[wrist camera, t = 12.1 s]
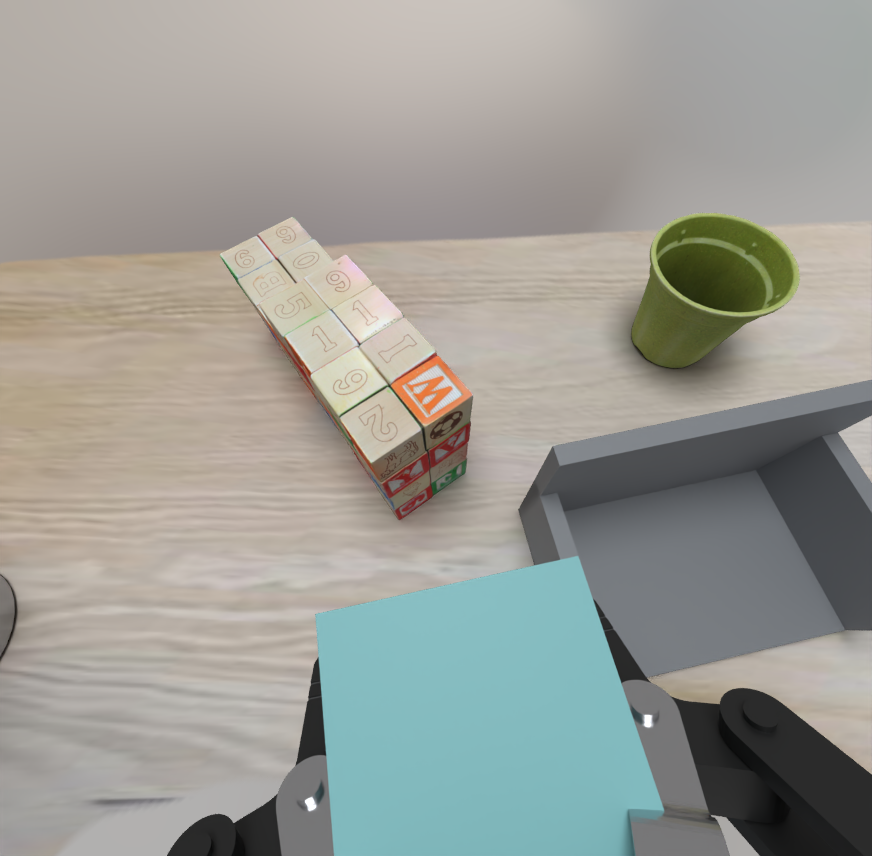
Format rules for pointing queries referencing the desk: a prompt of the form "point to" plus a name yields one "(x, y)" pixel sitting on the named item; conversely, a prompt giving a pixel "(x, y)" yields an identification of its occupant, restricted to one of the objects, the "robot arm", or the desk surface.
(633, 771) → the block
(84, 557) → the desk surface
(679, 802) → the robot arm
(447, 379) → the stack of blocks
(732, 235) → the plant pot
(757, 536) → the grey open tray
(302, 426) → the desk surface
